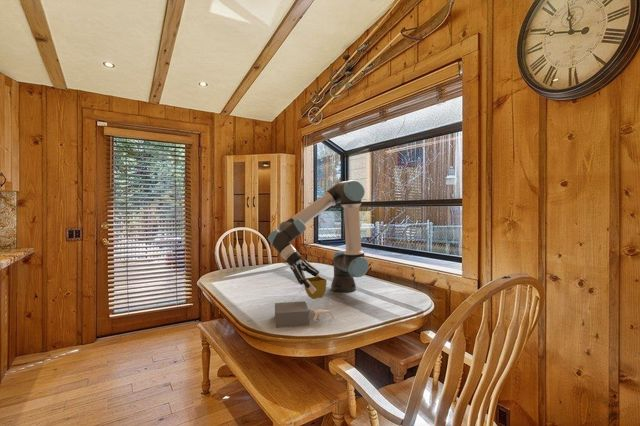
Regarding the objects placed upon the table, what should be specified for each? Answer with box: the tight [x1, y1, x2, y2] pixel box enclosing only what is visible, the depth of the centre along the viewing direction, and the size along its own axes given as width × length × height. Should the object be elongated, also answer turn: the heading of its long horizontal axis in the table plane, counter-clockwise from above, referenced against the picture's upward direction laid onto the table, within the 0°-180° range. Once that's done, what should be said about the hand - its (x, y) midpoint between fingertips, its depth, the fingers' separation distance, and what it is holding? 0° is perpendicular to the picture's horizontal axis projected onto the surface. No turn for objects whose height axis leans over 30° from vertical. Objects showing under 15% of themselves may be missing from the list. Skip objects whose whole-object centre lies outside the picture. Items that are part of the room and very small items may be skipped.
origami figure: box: [308, 308, 335, 325], centre depth 136 cm, size 12×8×5 cm
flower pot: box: [304, 276, 328, 300], centre depth 152 cm, size 9×9×9 cm
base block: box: [274, 300, 310, 328], centre depth 137 cm, size 14×14×6 cm
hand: (319, 288), depth 151 cm, fingers closed on flower pot, 12 cm apart
